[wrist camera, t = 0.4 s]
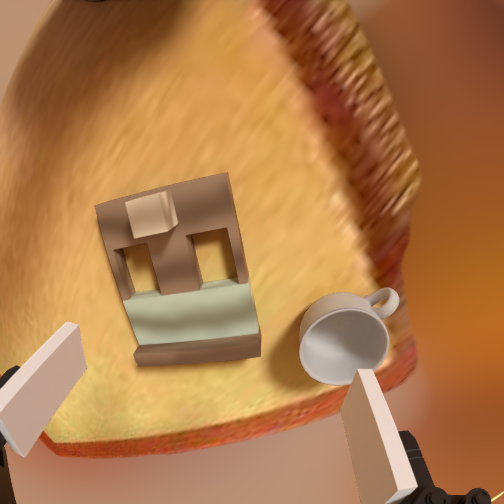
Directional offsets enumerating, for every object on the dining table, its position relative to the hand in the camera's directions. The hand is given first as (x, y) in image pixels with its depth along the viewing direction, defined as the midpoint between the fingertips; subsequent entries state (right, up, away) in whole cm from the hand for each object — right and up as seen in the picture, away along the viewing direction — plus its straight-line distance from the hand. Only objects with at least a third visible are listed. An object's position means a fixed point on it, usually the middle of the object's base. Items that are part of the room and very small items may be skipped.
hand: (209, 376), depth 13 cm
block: (-9, +10, +22) cm, 25 cm away
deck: (-7, +3, +26) cm, 27 cm away
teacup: (+14, -2, +27) cm, 31 cm away
